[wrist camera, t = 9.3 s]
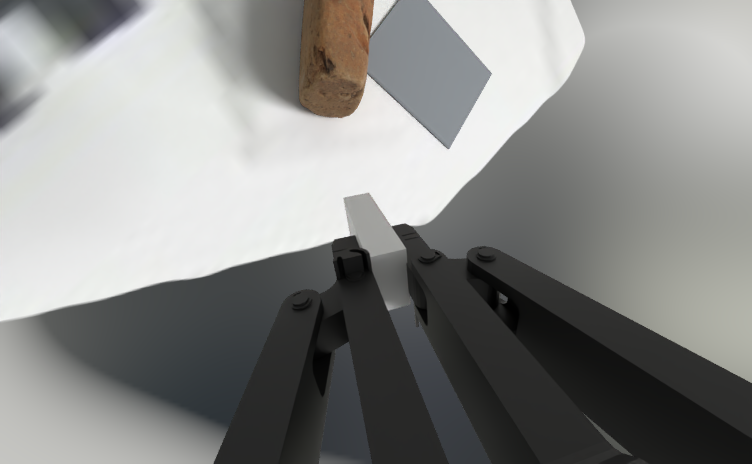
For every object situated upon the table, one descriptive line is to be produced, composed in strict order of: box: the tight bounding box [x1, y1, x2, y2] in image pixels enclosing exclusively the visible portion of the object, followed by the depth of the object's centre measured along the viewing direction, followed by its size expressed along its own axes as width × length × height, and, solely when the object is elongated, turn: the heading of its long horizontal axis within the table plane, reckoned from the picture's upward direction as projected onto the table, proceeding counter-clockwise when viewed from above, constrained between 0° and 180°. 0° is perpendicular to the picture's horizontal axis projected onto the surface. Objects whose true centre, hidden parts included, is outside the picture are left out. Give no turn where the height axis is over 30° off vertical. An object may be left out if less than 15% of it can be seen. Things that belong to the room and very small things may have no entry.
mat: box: [367, 0, 492, 149], centre depth 46 cm, size 20×18×1 cm
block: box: [299, 0, 374, 118], centre depth 34 cm, size 11×8×20 cm
